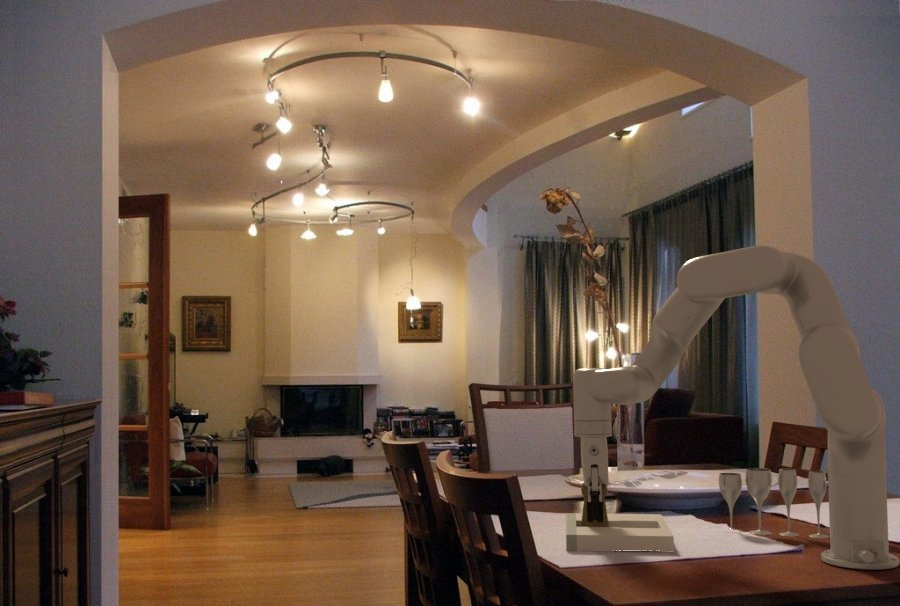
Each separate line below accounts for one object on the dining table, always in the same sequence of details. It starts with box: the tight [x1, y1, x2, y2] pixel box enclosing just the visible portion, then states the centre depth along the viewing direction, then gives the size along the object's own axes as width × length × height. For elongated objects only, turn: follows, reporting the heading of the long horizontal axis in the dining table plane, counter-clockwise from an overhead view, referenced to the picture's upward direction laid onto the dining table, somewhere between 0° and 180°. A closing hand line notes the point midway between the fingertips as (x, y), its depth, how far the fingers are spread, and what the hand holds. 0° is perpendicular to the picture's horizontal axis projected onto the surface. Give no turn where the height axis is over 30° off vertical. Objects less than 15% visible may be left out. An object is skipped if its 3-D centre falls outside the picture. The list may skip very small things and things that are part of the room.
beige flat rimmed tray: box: [565, 512, 675, 552], centre depth 188 cm, size 24×20×3 cm
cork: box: [580, 482, 609, 527], centre depth 189 cm, size 6×6×11 cm
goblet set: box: [718, 467, 830, 539], centre depth 192 cm, size 28×6×13 cm, turn 68°
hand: (594, 519), depth 189 cm, fingers closed on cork, 3 cm apart
